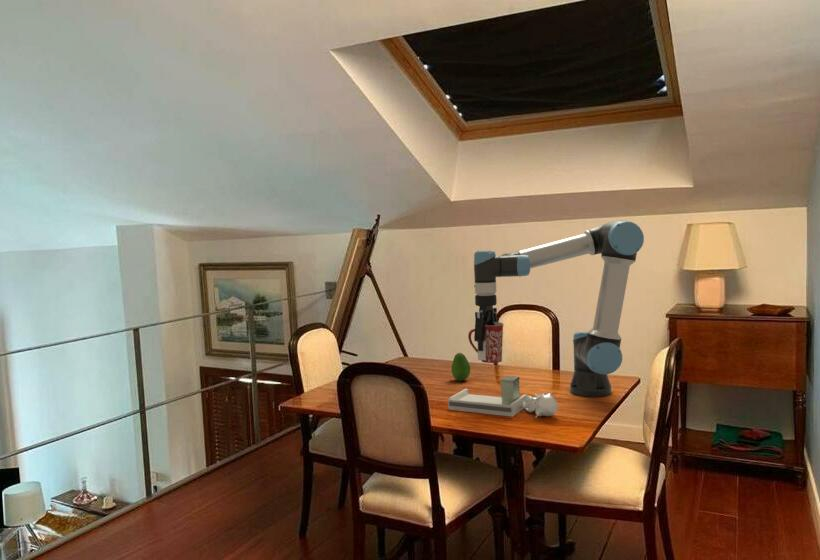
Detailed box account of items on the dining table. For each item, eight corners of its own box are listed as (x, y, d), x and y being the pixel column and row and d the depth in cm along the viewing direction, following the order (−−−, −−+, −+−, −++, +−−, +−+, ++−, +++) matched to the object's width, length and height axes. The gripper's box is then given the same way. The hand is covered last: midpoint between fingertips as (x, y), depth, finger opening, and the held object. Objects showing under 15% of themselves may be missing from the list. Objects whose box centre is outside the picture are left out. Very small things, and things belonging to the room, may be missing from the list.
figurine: (528, 385, 216) (553, 385, 202) (542, 398, 217) (568, 399, 204) (512, 409, 212) (536, 411, 199) (527, 422, 214) (552, 425, 200)
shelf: (527, 405, 219) (527, 394, 219) (512, 416, 206) (512, 405, 206) (465, 399, 231) (465, 388, 231) (448, 409, 218) (447, 398, 218)
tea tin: (520, 402, 216) (519, 376, 215) (514, 406, 211) (513, 380, 210) (507, 401, 218) (507, 375, 218) (501, 405, 213) (500, 379, 212)
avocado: (450, 382, 257) (449, 354, 256) (452, 378, 265) (451, 351, 264) (470, 382, 256) (468, 354, 255) (471, 378, 264) (470, 350, 263)
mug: (501, 357, 224) (500, 321, 223) (507, 363, 215) (506, 324, 214) (467, 359, 223) (465, 322, 222) (471, 365, 214) (470, 326, 213)
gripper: (488, 291, 229) (489, 351, 230) (462, 297, 210) (464, 362, 212) (507, 291, 225) (508, 352, 227) (482, 297, 207) (484, 364, 208)
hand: (487, 357), depth 219 cm, fingers closed on mug, 9 cm apart
